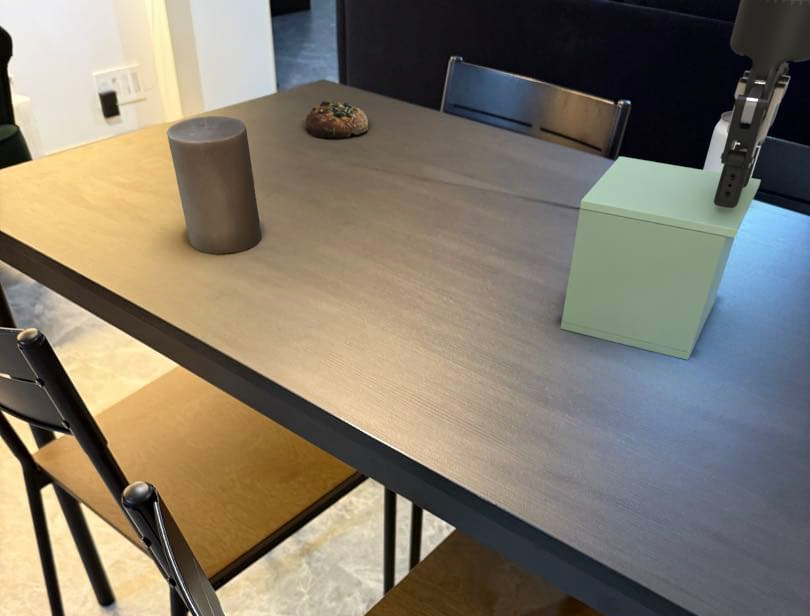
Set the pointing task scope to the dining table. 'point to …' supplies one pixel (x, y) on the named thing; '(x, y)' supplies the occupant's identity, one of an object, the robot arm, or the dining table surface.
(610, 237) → the box
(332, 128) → the bread roll
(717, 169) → the can
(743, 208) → the lid
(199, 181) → the pillar candle
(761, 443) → the dining table surface
